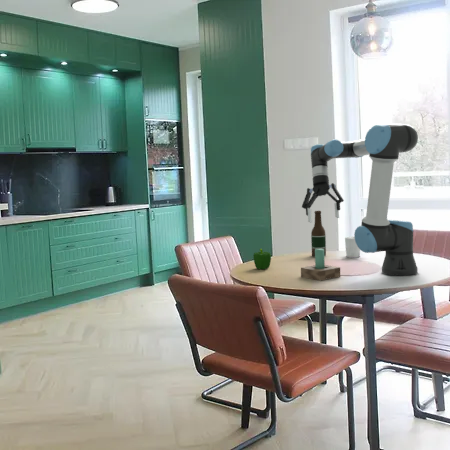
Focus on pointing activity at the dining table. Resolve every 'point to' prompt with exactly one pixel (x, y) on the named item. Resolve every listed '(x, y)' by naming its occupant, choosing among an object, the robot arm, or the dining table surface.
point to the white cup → (351, 247)
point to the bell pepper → (262, 259)
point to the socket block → (320, 272)
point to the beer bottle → (318, 235)
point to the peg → (319, 259)
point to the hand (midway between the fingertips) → (323, 219)
